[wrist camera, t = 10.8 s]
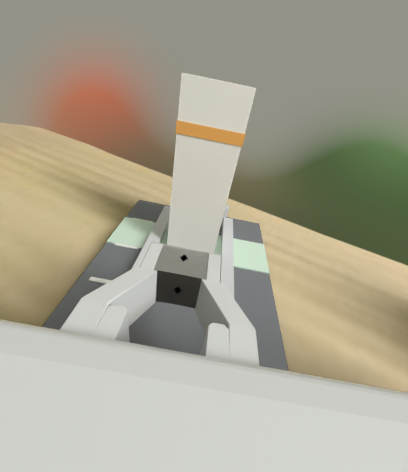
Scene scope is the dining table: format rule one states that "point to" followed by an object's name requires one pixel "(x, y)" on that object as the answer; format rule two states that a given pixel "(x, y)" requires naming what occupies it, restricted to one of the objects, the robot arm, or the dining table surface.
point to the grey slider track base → (176, 316)
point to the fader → (205, 158)
